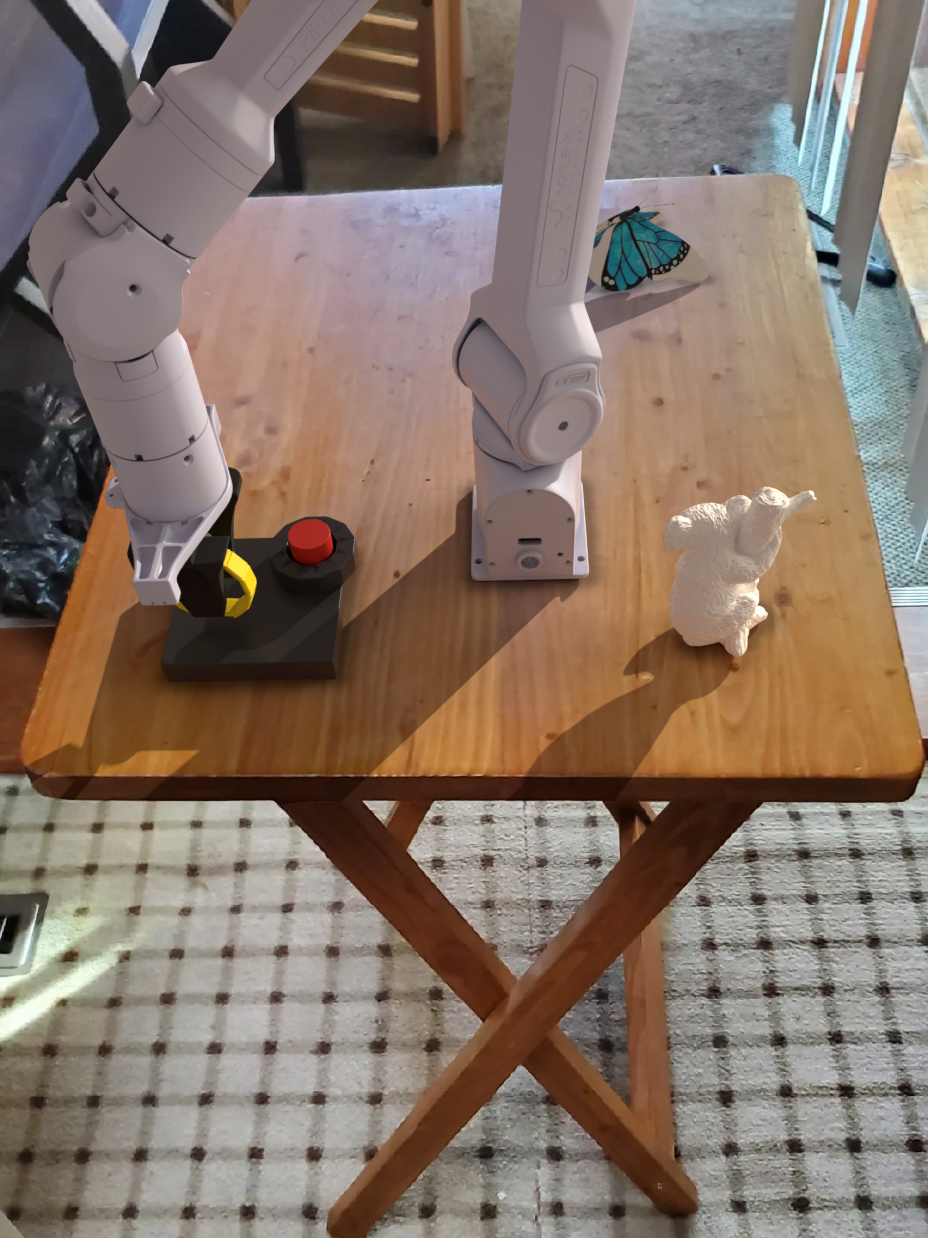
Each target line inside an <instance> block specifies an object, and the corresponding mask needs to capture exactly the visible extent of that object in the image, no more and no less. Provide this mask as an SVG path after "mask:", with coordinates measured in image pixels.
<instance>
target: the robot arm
mask: <svg viewBox="0 0 928 1238" xmlns="http://www.w3.org/2000/svg"><path fill="white" fill-rule="evenodd" d="M378 2H379V0H250V1H249V3H248V5H247V6H246V8H245V9H244V10H243V13H242V14H241V15H240V17H239V18H238V20H237V21H236V23H235V24H234V26H233V27H232V29H231V30H230V31H229V34H228V35H227V36H226V38H225V40H224V41H223V43H222V44H221V46H220V47H219V49H218V50H217V52H216V54H215V55H214V56H213V58H211V59H209V60H205V61H199V62H192V63H190V62H189V63H184V64H176V65H172V66H170V67H168V68H167V69H166V70H165V72H164V74H163V75H162V77H161V78H160V80H158V81H157V83H156V84H155V86H154V87H153V86H152V85H151V84H149V83H148V82H147V81H146V80H145V81H144V80H143V81H142V80H141V81H140V83H139V84H138V85H137V86H136V88H135V89H134V91H133V92H132V93H131V95H130V96H129V97H128V99H127V100H126V105H127V107H128V109H129V111H130V112H131V114H132V116H133V117H131V119H130V121H129V122H128V123H127V125H126V126H125V127H124V129H123V130H122V132H120V134H119V135H118V137H117V138H116V140H115V141H114V143H113V144H112V145H111V147H109V149H108V150H107V152H106V153H105V155H103V158H101V160H100V161H99V163H98V164H97V165H96V167H95V168H94V169H93V170H92V172H91V173H90V175H89V176H88V177H87V180H86V181H85V180H84V179H82V178H80V177H77V178H75V180H74V181H73V182H72V184H71V185H70V187H69V188H68V189H67V191H66V192H65V195H66V199H67V200H65V201H62V202H60V201H56V202H55V203H53V204H52V205H51V206H49V207H48V208H46V209H45V210H44V212H43V213H42V214H41V215H40V216H39V217H38V219H37V220H36V221H35V223H34V224H33V226H32V229H31V232H30V235H29V239H28V245H29V250H28V251H27V255H28V259H27V261H26V266H27V268H28V271H29V273H30V274H31V276H32V278H34V280H35V282H36V283H37V285H38V288H39V291H40V293H41V295H42V299H43V300H44V303H45V305H46V308H47V310H48V313H49V316H50V319H51V321H52V323H53V324H54V326H55V328H56V329H57V330H58V332H59V334H60V336H62V339H63V344H64V346H65V348H66V352H67V353H68V357H69V358H70V359H71V361H72V367H73V374H74V377H75V379H76V382H77V385H78V386H79V389H80V392H81V394H82V396H83V399H84V401H85V404H86V406H87V410H88V411H89V414H90V415H91V419H92V421H93V424H94V426H95V428H96V431H97V434H98V436H99V438H100V440H101V443H102V445H103V447H104V450H105V452H106V455H107V457H108V460H109V462H110V465H111V467H112V470H113V472H114V475H115V476H114V477H113V478H111V479H110V480H109V483H108V485H107V488H106V491H105V493H104V500H105V502H106V504H107V506H108V507H109V508H110V509H121V510H124V516H125V521H126V525H127V529H128V536H129V539H130V540H129V545H128V548H127V551H126V556H127V559H128V562H129V564H130V566H131V568H132V570H133V576H132V580H131V584H132V587H133V588H134V591H135V593H136V595H137V597H138V600H139V602H140V604H141V606H175V605H177V604H178V602H179V601H180V602H181V604H182V605H183V606H184V607H185V608H186V609H187V610H188V611H189V613H190V614H191V615H192V616H193V617H223V616H225V611H226V606H227V594H226V587H225V581H224V578H233V576H232V575H231V574H229V573H228V572H227V571H225V570H224V569H223V563H224V560H225V557H226V553H227V549H229V550H230V551H233V552H234V553H235V549H234V539H235V511H236V506H237V504H238V501H239V498H240V493H241V489H242V484H243V478H242V475H241V472H240V471H239V470H238V469H237V468H235V467H230V466H228V464H227V461H226V458H225V454H224V450H223V448H222V444H221V440H220V436H221V432H222V424H221V421H220V418H219V414H218V411H217V408H216V405H215V404H214V403H211V404H209V403H208V404H206V403H205V400H204V397H203V394H202V390H201V387H200V383H199V380H198V377H197V373H196V371H195V367H194V364H193V361H192V360H193V359H192V357H191V354H190V350H189V347H188V344H187V341H186V340H185V338H184V337H183V335H182V334H181V333H180V332H179V328H178V327H179V325H180V323H181V320H182V316H183V312H184V294H183V288H184V284H185V283H186V280H187V279H188V278H189V276H190V275H191V271H190V270H192V269H191V268H193V266H194V265H195V264H196V262H197V261H198V260H199V258H200V257H201V256H202V255H203V254H204V252H205V251H206V250H207V248H208V247H209V246H210V245H211V243H212V242H213V241H214V240H215V238H216V237H217V236H218V235H219V233H220V232H221V231H222V230H223V228H224V227H225V226H226V225H227V224H228V222H229V221H230V219H231V218H232V217H233V216H234V214H235V213H236V211H238V209H239V208H240V207H241V205H242V204H243V203H244V201H246V199H247V198H248V197H249V196H250V194H251V192H253V190H254V189H255V188H256V187H257V185H258V184H259V182H260V181H261V180H262V179H263V178H264V176H265V175H266V173H267V172H268V171H269V170H270V168H271V167H272V166H273V164H274V163H275V141H274V140H275V138H274V137H275V136H274V135H275V134H274V132H275V131H274V125H275V119H276V117H277V115H278V114H279V113H280V112H281V111H282V110H283V109H284V108H285V106H286V105H287V104H288V103H289V102H290V100H292V99H293V97H294V96H295V95H296V94H297V93H298V92H299V91H300V90H301V88H302V87H303V86H304V85H305V84H306V83H307V81H309V79H311V77H312V76H313V75H314V74H315V72H316V71H317V70H318V69H319V68H320V67H321V66H322V64H324V63H325V61H326V60H327V59H328V58H329V57H330V56H331V54H332V53H333V52H334V51H335V50H336V49H337V48H338V47H339V45H340V44H341V43H342V42H343V41H344V40H345V38H346V37H348V35H349V34H350V33H351V32H352V30H354V28H356V26H357V25H358V24H359V23H360V21H361V20H363V18H365V16H366V15H367V14H368V13H369V11H370V10H371V9H373V7H374V6H375V5H376V3H378ZM636 5H637V0H521V5H520V15H519V24H518V34H517V41H516V43H517V44H516V53H515V63H514V72H513V82H512V88H511V89H512V91H511V99H510V109H509V120H508V128H507V138H506V147H505V156H504V165H503V174H502V183H501V184H502V185H501V186H502V187H501V193H500V203H499V210H498V211H499V213H498V223H497V231H496V241H495V250H494V257H493V259H494V260H493V266H492V267H493V268H492V269H493V270H492V278H491V282H490V283H487V284H485V285H483V286H481V287H479V288H478V289H476V290H474V291H473V292H472V293H471V295H470V303H469V310H468V315H467V317H466V321H465V323H464V325H463V326H462V329H461V330H460V331H459V334H458V335H457V337H456V340H455V342H454V344H453V347H452V352H451V353H452V356H451V363H452V368H453V371H454V373H455V375H456V377H457V378H458V381H460V383H462V385H463V386H465V387H466V388H468V389H469V390H470V391H471V400H472V407H473V410H472V417H471V431H472V434H471V435H472V446H473V447H472V448H473V464H474V465H473V466H474V481H475V483H473V486H472V507H471V557H470V558H471V562H470V563H471V564H470V566H471V567H470V575H471V579H472V580H474V581H477V582H486V581H489V582H490V581H531V580H532V581H533V580H534V581H536V580H537V581H539V580H575V579H576V580H577V579H578V580H579V579H580V580H582V579H586V578H587V577H589V574H590V566H589V552H588V540H587V526H586V525H587V523H586V514H585V513H586V512H585V499H584V487H583V485H584V484H583V482H582V458H583V450H584V449H585V447H586V446H587V445H588V444H589V442H591V440H592V439H593V438H594V437H595V435H596V434H597V432H598V431H599V429H600V428H601V426H602V422H603V420H604V417H605V413H606V396H605V393H604V391H603V388H602V385H601V377H600V376H601V370H602V369H601V368H602V363H603V355H602V351H601V347H600V343H599V342H598V339H597V336H596V333H595V330H594V328H593V324H592V322H591V319H590V317H589V314H588V311H587V308H586V304H585V293H586V289H587V283H588V278H589V276H588V272H589V267H590V261H591V255H592V251H593V250H594V248H593V244H594V238H595V233H597V231H596V227H597V226H598V220H599V215H600V210H601V204H602V198H603V193H604V188H605V182H606V175H607V169H608V166H609V165H608V164H609V159H610V153H611V147H612V141H613V137H614V130H615V124H616V118H617V112H618V107H619V101H620V97H621V90H622V86H623V80H624V75H625V74H624V73H625V68H626V62H627V56H628V51H629V46H630V45H629V44H630V40H631V39H630V38H631V33H632V29H633V23H634V16H635V13H636V12H635V11H636ZM207 533H209V534H211V536H205V535H206V534H207Z"/></svg>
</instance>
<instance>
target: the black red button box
mask: <svg viewBox="0 0 928 1238" xmlns="http://www.w3.org/2000/svg"><path fill="white" fill-rule="evenodd" d="M308 519H316V520H320V521H322V522H324V523H325V524H327V526H328V527H329V529H330V533H331V538H332V543H333V552H332V554H331V556H330V557H329V558H328V559H327V560H325V561H324V562H321V563H319V564H316V565H304V564H300V563H298V562H297V561H296V560H295V559H294V558H293V556H292V553H291V549H290V545H289V541H288V533H289V530H290V529H291V528H292V527H293V526H294V525H295V524H296V523H298V522H300V521H303V520H308ZM234 549H235V554H236V555H238V556H239V557H240V558H241V559H243V560H244V561H245V562H246V563H247V564H248V565H249V566H250V568H251V570H252V572H253V574H254V575H255V577H256V581H257V583H256V589H255V594H254V596H253V599H252V602H251V605H250V607H249V609H248V610H247V611H245V612H244V613H243V614H241V615H240V616H238V617H236V618H233V617H234V616H223V617H193V616H192V615H191V614H190V613H189V612H187V611H185V610H183V609H181V608H178V606H175V605H174V609H173V613H172V615H171V616H172V617H171V621H170V624H169V629H168V632H167V637H166V641H165V645H164V648H163V653H162V657H161V660H160V668H161V670H162V672H163V675H164V676H165V679H166V681H167V682H168V683H186V682H188V683H189V682H191V683H192V682H193V683H194V682H240V681H241V682H245V681H247V682H251V681H303V680H305V681H306V680H337V679H338V674H339V673H338V672H339V665H340V656H341V647H342V639H343V631H344V621H345V615H346V614H345V612H346V605H347V604H346V603H347V595H348V588H349V587H348V586H349V578H351V576H352V575H353V574H354V573H355V572H356V570H357V567H358V566H357V565H358V557H359V551H358V547H357V541H356V537H355V536H354V534H353V532H352V531H351V529H350V528H349V527H348V525H347V524H346V523H345V522H342V521H339V520H337V519H335V518H333V517H330V516H327V515H321V516H304V517H301V518H298V519H297V520H294V521H291V522H288V523H287V524H285V525H283V526H282V528H281V529H280V530H278V532H277V533H276V534H275V535H274V536H273V537H243V538H242V537H241V538H239V537H237V538H234ZM224 581H225V587H226V594H227V598H230V599H240V598H241V597H242V596H244V595H245V592H244V590H243V588H242V586H241V584H240V583H239V581H238V580H237V579H236V578H234V577H233V578H224Z"/></svg>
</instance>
